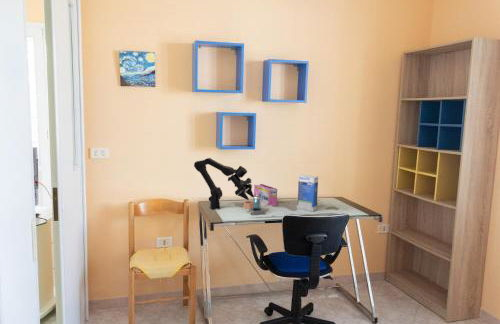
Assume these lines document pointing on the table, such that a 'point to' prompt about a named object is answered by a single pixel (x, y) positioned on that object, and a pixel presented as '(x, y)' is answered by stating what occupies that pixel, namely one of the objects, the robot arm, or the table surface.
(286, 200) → the table surface
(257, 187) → the gum box
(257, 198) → the battery
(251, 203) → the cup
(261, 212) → the tray
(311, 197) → the string lights box
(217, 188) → the robot arm
